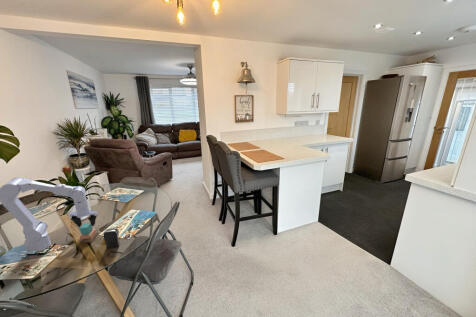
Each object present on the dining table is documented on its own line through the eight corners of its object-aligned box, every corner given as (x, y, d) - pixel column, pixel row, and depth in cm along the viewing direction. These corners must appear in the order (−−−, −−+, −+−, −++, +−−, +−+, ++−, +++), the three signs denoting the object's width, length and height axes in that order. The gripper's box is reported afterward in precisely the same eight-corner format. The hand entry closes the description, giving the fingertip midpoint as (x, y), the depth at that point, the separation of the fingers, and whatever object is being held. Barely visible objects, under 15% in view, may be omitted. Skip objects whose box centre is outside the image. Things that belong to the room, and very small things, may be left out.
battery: (121, 242, 113) (118, 226, 110) (119, 246, 110) (116, 231, 106) (108, 243, 111) (105, 228, 108) (105, 248, 108) (102, 232, 104)
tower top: (80, 239, 111) (79, 236, 110) (86, 232, 117) (85, 229, 116) (91, 238, 112) (90, 235, 111) (96, 231, 118) (95, 228, 117)
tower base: (79, 243, 111) (78, 239, 111) (86, 235, 118) (86, 231, 117) (91, 242, 112) (90, 239, 112) (98, 234, 119) (97, 231, 118)
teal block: (81, 234, 111) (79, 228, 110) (85, 230, 115) (83, 223, 113) (89, 234, 112) (87, 227, 110) (92, 229, 116) (90, 223, 114)
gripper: (63, 210, 104) (68, 230, 108) (90, 209, 106) (95, 229, 110) (72, 203, 111) (77, 222, 115) (98, 203, 112) (102, 221, 117)
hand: (86, 225), depth 113 cm, fingers open, 7 cm apart
